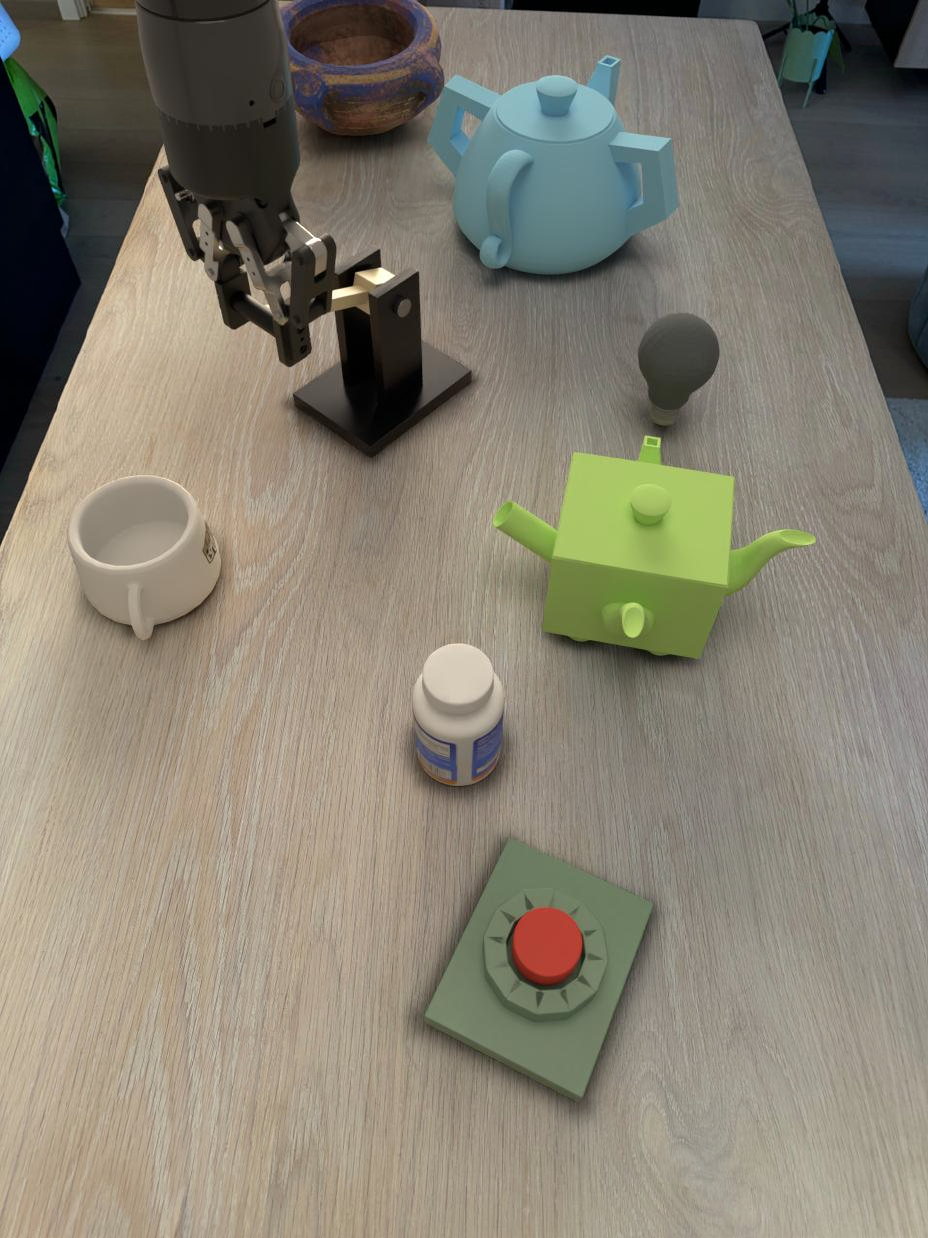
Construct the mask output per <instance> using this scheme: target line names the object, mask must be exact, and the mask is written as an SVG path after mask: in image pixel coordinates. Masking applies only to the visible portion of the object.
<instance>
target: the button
mask: <svg viewBox="0 0 928 1238" xmlns="http://www.w3.org/2000/svg"><path fill="white" fill-rule="evenodd" d="M582 945H583V943H582V936H581V932H580V930H579V928H578V926H577V924H576V922H575V921H574V920H573V919H572V918H571V917H570V916H569V915H568V914H566V913H565V912H563V911H561V910H559V909H556V908H552V907H540V908H536V909H533V910H531V911H529V912H528V913H526V914H525V915H524V916H523V917H522V918H521V919H520V920H519V922H518V923H517V925H516V928H515V930H514V935H513V940H512V957H513V960H514V963H515V965H516V967H517V969H518V970H519V971H520V973H521V974H522V975H523V976H524V977H526V978H527V979H528V980H530V981H532V982H534V983H537V984H541V985H553V984H557V983H560V982H562V981H564V980H565V979H567V978H568V977H569V976H570V975H571V974H572V973H573V971H574V970H575V968H576V966H577V963H578V961H579V958H580V956H581V953H582Z"/></svg>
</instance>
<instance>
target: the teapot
mask: <svg viewBox="0 0 928 1238" xmlns="http://www.w3.org/2000/svg"><path fill="white" fill-rule="evenodd" d="M621 65H622V59H621V58H618V57H615V56H612V55H609V54H606V55H605V56H603V57H602V58H601V59H599V60H598V61H597V62H596V66H595V69H594V71H593V73H592V75H591V77H590V78H589V81H588V83H587V86H586V85H584V84H580V83H577V82H576V80H574V79H573V78H572V77H571V78H570V77H568V76H565V75H558V74H557V75H556V74H554V75H546V76H543V77H541V78H539V79H538V80H535V81H529V82H525V83H522V84H519V85H516V86H515V87H512V88H511V89H509V90H507V91H506V92H504V93H503V94H502V95H501V94H499V93H497V92H495V91H494V90H491V89H488V88H486V87H485V86H483V85H480V84H478V83H476V82H474V81H472V80H471V79H468V78H465V77H463V76H462V75H459V74H457V73H456V74H454V75H453V76H452V77H451V78H450V79H449V80H448V81H447V82H446V84H444V88H443V90H442V93H441V94H440V97H439V101H438V105H437V107H436V111H435V114H434V117H433V120H432V123H431V126H430V130H429V133H428V136H427V140H426V142H427V144H428V145H429V146H430V147H431V149H432V150H433V151H434V153H435V154H436V155H437V156H438V158H439V159H440V161H442V163H443V164H444V165H445V166H446V168H447V169H448V170H449V172H450V173H451V174H452V175H453V176H454V178H455V179H454V185H453V193H452V212H453V215H454V218H455V221H456V222H457V225H458V227H459V229H460V230H461V232H462V233H463V234H464V235H465V237H466V238H467V239H468V240H469V241H470V243H471V244H473V246H474V247H475V248H476V249H478V250H479V259H480V261H481V263H482V264H483V265H484V266H485V267H486V268H488V269H493V270H494V269H501V268H503V267H506V268H508V269H511V270H515V271H519V272H522V273H527V274H533V275H534V274H535V275H547V276H549V275H551V276H553V275H564V274H565V275H566V274H571V273H576V272H579V271H583V270H586V269H588V268H590V267H594V266H595V265H597V264H599V263H600V262H602V261H603V260H605V259H607V258H608V257H610V256H611V255H613V254H614V253H615V252H616V251H617V250H619V249H620V248H621V247H623V245H624V244H625V243H626V242H627V241H628V240H629V239H630V238H631V237H633V236H635V235H637V234H638V233H641V232H643V231H645V230H647V229H649V228H651V227H653V226H656V225H657V224H660V223H661V222H664V221H666V220H668V218H669V217H670V216H671V215H672V214H673V213H674V212H675V211H676V210H677V209H678V207H679V206H680V205H679V196H678V188H677V186H678V185H677V178H676V177H677V176H676V168H675V158H674V149H673V140H672V138H671V137H662V136H657V135H649V134H640V133H633V132H627V130H626V127H625V126H624V123H623V121H622V119H621V117H620V115H619V114H618V112H617V110H616V108H615V105H616V97H617V91H618V90H617V89H618V84H619V83H618V82H619V77H620V70H621ZM465 113H468V114H470V115H471V116H472V117H475V118H476V119H478V120H480V123H479V125H478V126H477V127H476V129H475V131H474V132H473V134H472V135H471V138H469V137H468V136H467V134H466V133H465V132H464V131H463V130H462V125H463V121H464V116H465ZM639 164H641V170H640V165H639Z"/></svg>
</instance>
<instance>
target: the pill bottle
mask: <svg viewBox="0 0 928 1238" xmlns="http://www.w3.org/2000/svg"><path fill="white" fill-rule="evenodd" d="M411 706H412V716H413V717H412V719H413V720H412V721H413V730H414V741H415V751H416V755H417V759H418V762H419V764H420V766H421V767H422V769H423V770H424V772H425V773H426V774H427V775H428V776H429V777H430V778H431V779H433V780H435V781H437V782H439V783H442V784H444V785H448V786H451V787H452V786H453V787H454V786H455V787H463V786H470V785H474V784H476V783H478V782H480V781H482V780H484V779H485V778H486V777H488V776H489V775H490V774H491V773H492V771H494V769H495V768H496V766H497V764H498V762H499V759H500V754H501V752H502V751H501V750H502V742H503V741H502V740H503V730H504V729H503V727H504V715H505V691H504V687H503V684H502V682H501V679H500V678H499V676H498V675H497V674H496V672H494V667H493V664H492V662H491V660H490V659H489V657H488V656H487V655H486V653H484V652H483V651H482V650H480V649H479V648H477V647H476V646H474V645H470V644H467V643H450V644H449V643H448V644H445V645H443V646H441V647H439V648H437V649H436V650H434V651H433V652H431V654H430V655H429V656H428V657H427V659H426V660H425V662H424V665H423V667H422V672H421V674H420V675H418V678H417V680H416V681H415V684H414V687H413V690H412V696H411Z"/></svg>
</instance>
